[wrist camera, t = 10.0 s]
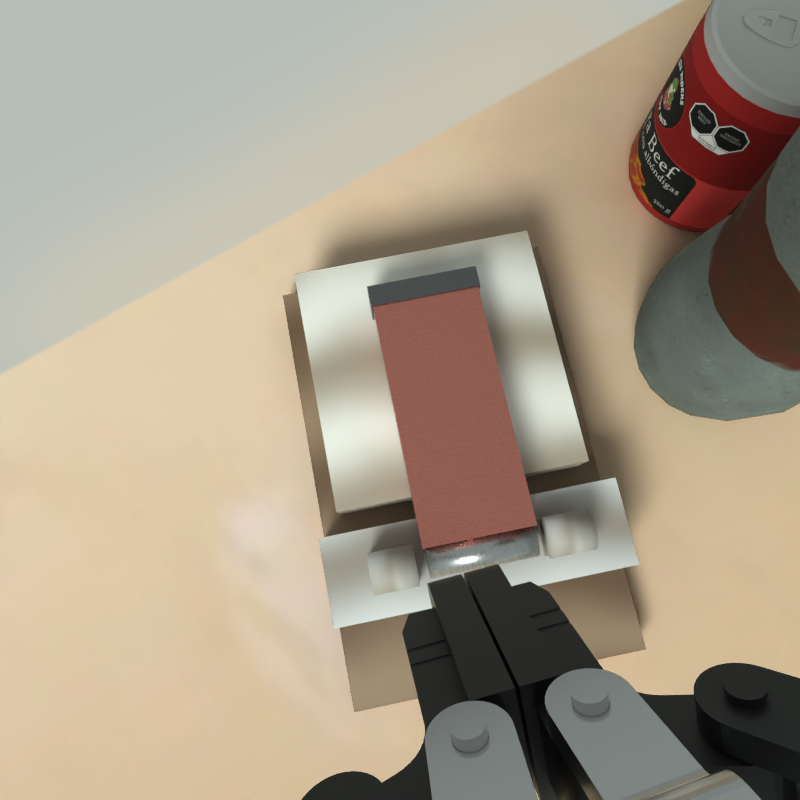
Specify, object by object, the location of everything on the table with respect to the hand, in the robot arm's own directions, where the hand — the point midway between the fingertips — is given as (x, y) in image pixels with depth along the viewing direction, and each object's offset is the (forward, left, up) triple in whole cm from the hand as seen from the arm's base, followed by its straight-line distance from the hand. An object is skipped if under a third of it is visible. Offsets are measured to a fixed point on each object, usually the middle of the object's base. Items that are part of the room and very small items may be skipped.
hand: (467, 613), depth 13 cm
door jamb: (-1, +6, -20) cm, 21 cm away
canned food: (+8, +26, -20) cm, 34 cm away
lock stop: (+2, +2, -15) cm, 15 cm away
